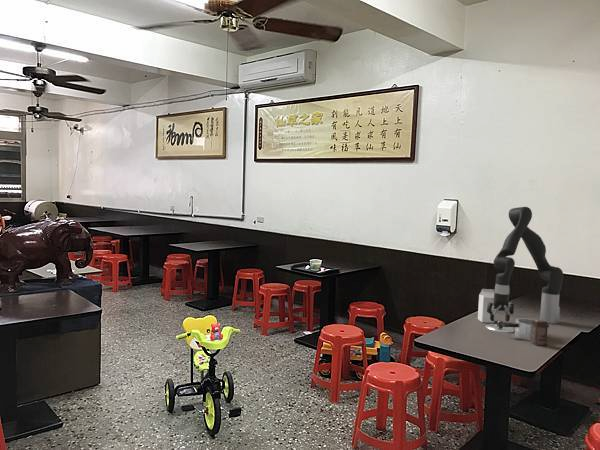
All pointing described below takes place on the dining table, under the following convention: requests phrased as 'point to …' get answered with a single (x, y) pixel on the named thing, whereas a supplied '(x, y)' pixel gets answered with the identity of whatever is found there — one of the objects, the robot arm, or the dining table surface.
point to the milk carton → (485, 305)
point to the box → (539, 332)
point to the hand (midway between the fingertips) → (499, 321)
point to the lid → (499, 327)
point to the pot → (522, 328)
